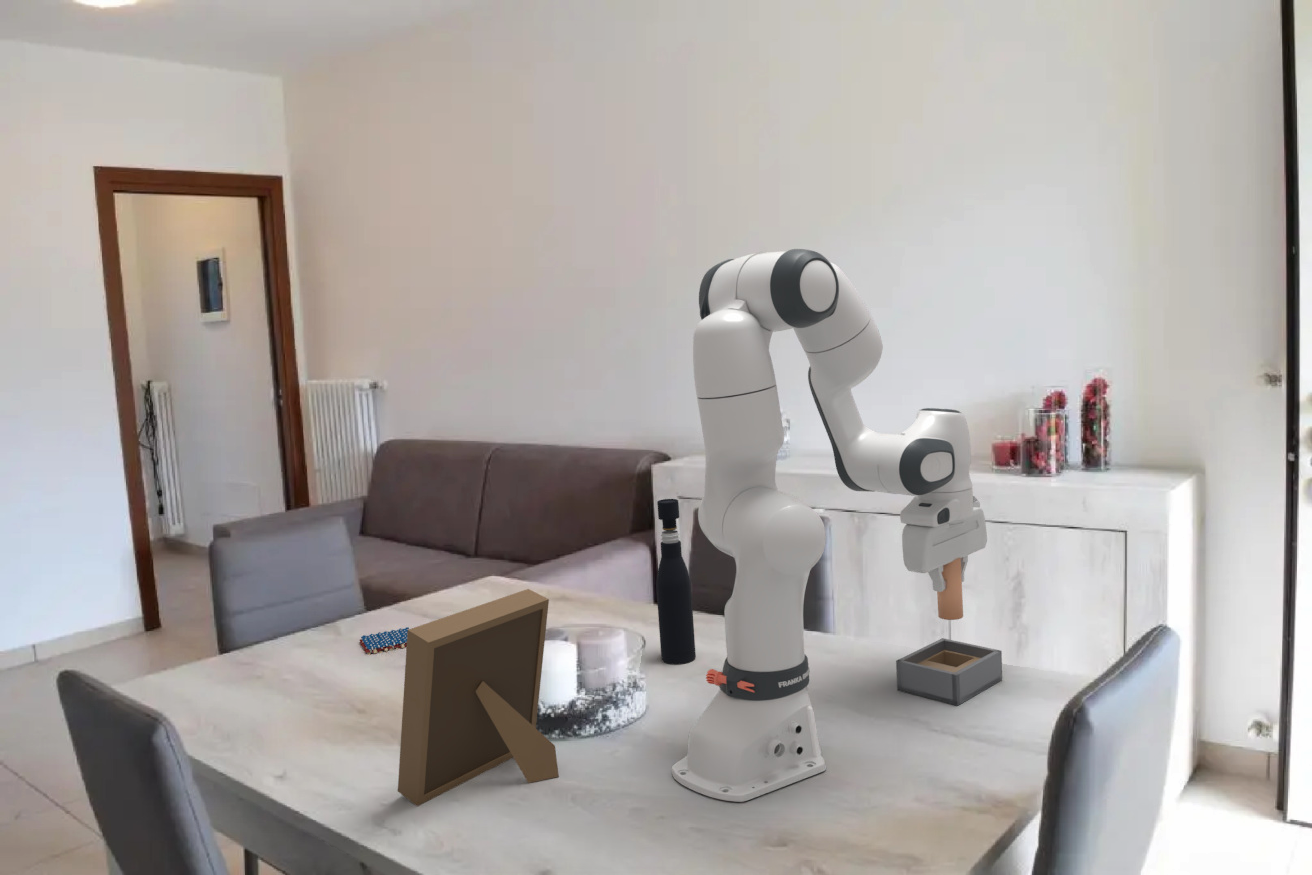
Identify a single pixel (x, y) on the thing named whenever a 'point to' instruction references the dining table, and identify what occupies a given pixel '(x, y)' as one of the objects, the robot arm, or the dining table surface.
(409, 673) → the photo frame
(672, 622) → the black bottle
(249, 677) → the dining table surface
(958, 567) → the peg
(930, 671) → the bore box
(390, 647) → the woven mat
